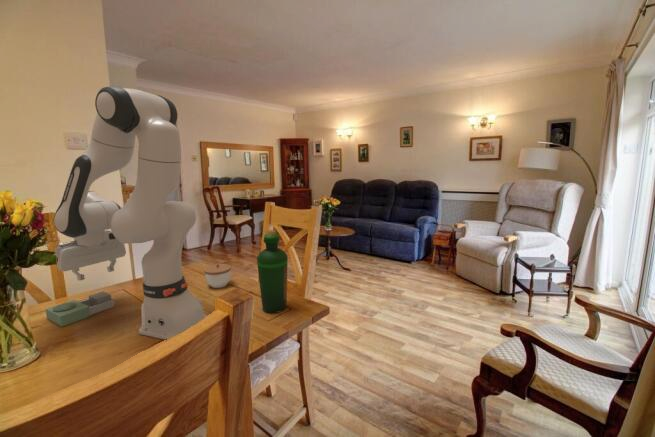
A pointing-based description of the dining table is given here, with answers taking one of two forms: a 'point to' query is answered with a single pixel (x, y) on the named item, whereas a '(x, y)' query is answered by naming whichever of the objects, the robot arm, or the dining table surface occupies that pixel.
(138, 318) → the dining table surface
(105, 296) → the grey rectangular block
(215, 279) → the lidded jar
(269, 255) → the bottle
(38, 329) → the dining table surface
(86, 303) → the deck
